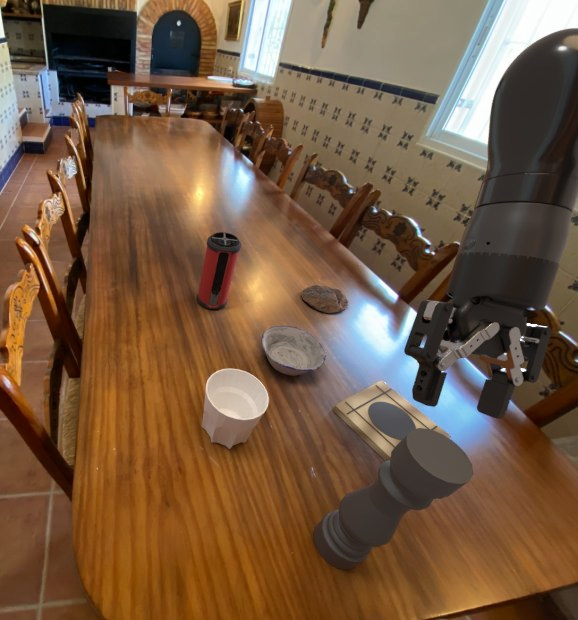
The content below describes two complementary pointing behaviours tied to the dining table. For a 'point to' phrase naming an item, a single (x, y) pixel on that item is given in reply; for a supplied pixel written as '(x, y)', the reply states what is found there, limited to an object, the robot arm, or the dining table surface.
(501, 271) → the robot arm
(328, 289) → the rock
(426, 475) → the candle holder
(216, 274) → the speaker
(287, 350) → the bowl
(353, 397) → the board
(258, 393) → the cup
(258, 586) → the dining table surface
